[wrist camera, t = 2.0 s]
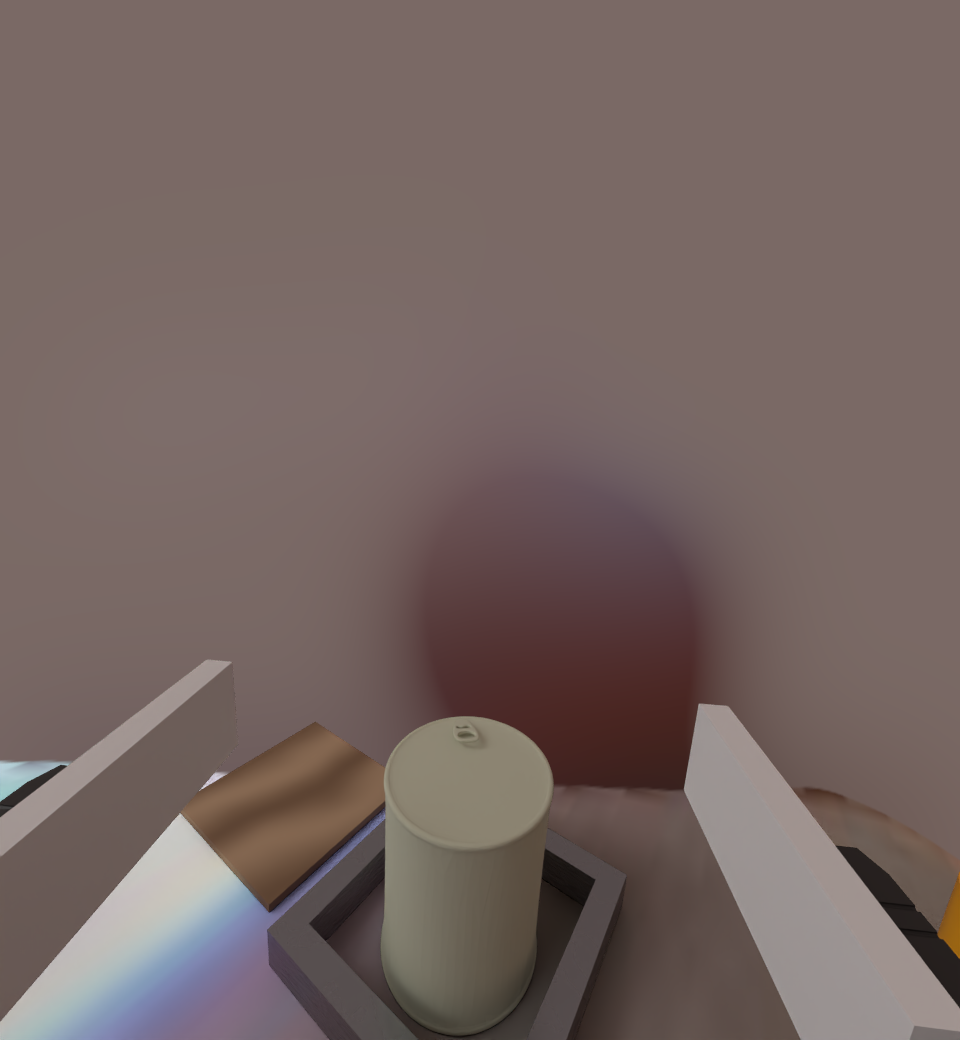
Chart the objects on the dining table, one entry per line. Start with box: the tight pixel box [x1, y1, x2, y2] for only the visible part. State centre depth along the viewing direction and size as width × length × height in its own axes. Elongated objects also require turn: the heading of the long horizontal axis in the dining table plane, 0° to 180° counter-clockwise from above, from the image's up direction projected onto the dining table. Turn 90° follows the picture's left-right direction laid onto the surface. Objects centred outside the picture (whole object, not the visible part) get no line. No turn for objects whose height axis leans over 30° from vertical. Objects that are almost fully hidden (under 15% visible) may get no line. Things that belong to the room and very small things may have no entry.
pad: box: [180, 722, 386, 912], centre depth 35 cm, size 12×12×1 cm
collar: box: [267, 820, 627, 1040], centre depth 26 cm, size 15×15×2 cm
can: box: [381, 717, 554, 1036], centre depth 25 cm, size 9×9×12 cm
